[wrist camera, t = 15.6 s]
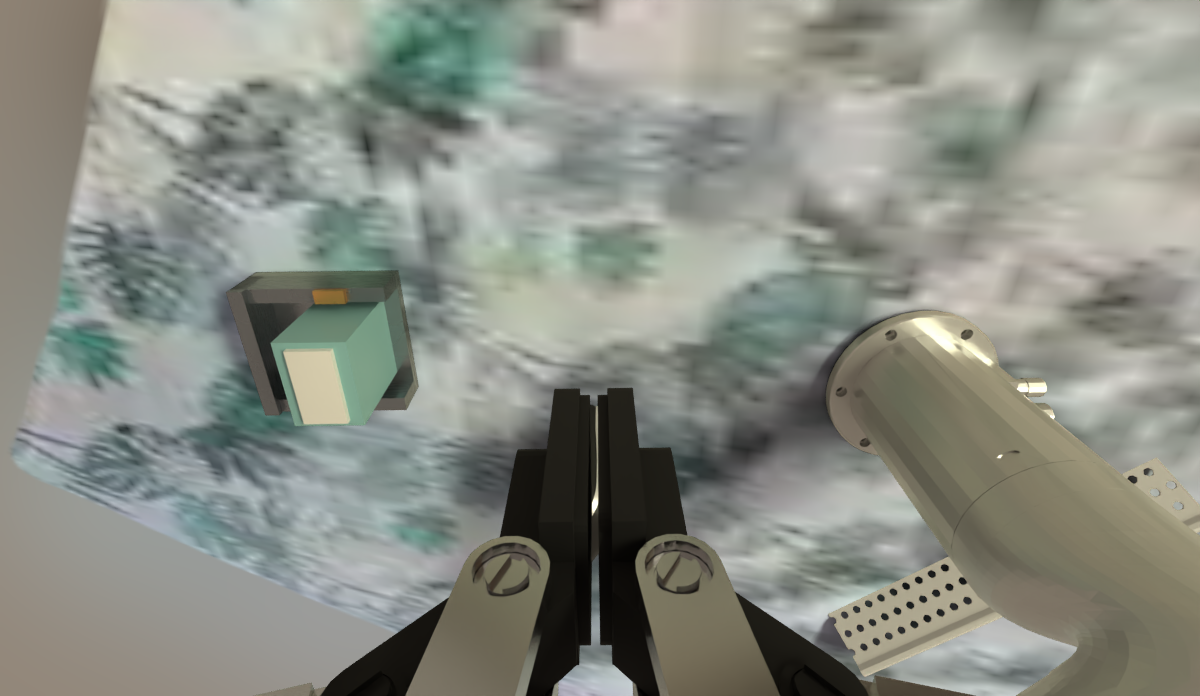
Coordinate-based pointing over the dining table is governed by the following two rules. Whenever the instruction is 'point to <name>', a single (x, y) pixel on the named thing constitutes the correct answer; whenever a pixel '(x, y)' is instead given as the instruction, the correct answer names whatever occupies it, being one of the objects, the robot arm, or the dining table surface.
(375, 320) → the block
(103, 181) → the dining table surface
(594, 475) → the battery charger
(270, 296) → the tray
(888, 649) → the corner bead
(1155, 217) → the dining table surface
